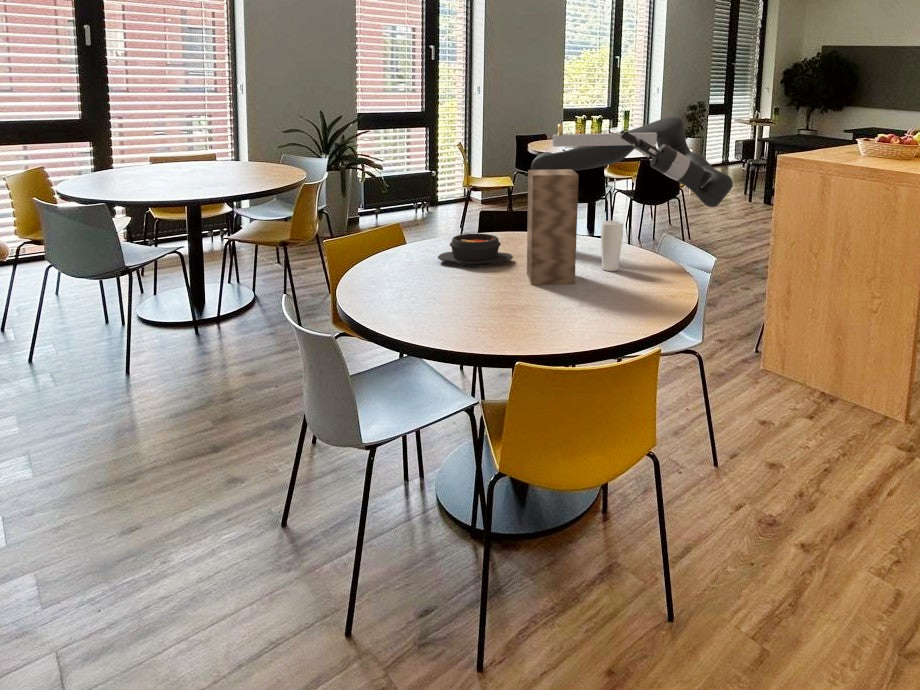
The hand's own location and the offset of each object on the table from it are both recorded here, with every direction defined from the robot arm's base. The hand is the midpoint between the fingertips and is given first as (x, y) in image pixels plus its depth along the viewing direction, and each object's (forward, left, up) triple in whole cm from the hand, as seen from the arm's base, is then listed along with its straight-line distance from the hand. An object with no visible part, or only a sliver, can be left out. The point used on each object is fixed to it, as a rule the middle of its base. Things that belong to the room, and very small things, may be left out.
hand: (621, 133), depth 232 cm
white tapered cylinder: (-4, +5, -42) cm, 43 cm away
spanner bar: (-4, -3, -3) cm, 6 cm away
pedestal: (-13, -16, -42) cm, 47 cm away
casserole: (-45, -12, -43) cm, 63 cm away
